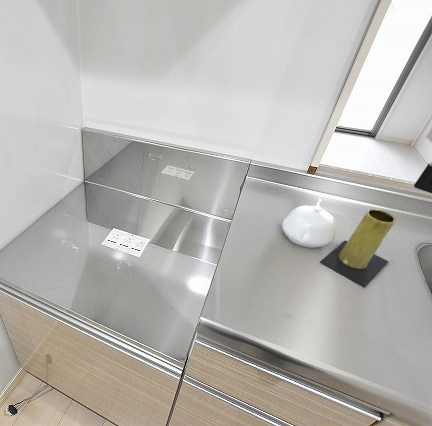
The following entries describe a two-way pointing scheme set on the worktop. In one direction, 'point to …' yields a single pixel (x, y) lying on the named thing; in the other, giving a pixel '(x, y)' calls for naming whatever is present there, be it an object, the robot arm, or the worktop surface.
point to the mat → (351, 273)
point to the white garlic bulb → (310, 226)
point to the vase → (366, 238)
